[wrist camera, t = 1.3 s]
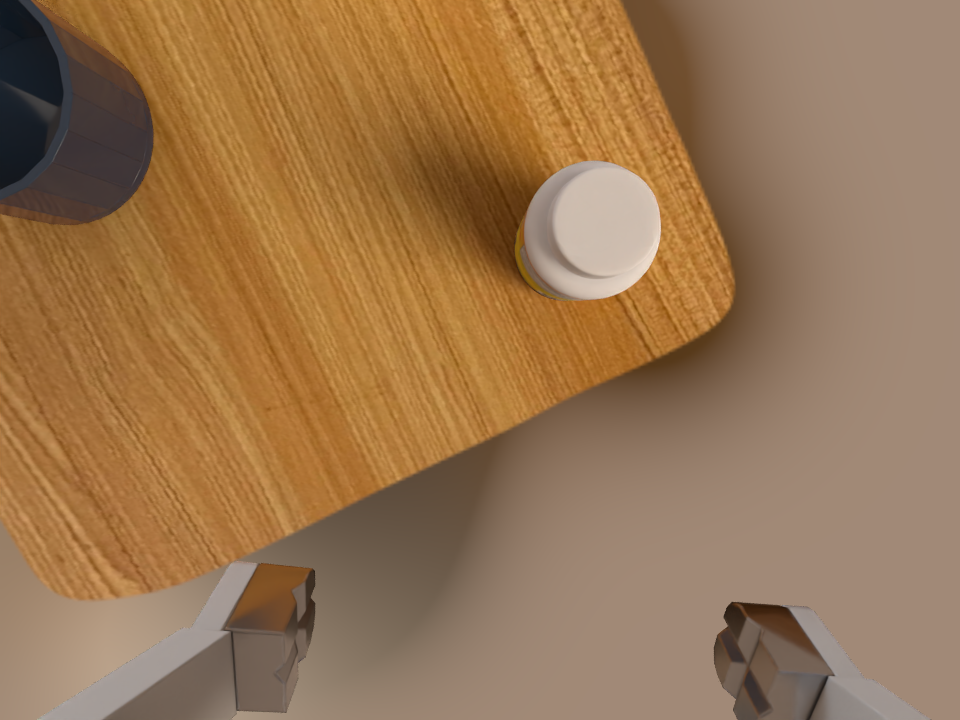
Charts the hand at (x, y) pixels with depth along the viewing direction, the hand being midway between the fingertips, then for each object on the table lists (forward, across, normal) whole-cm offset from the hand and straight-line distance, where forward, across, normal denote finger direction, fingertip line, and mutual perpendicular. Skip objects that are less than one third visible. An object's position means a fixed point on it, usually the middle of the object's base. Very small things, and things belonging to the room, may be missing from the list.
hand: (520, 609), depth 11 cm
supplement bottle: (+22, +3, +4) cm, 23 cm away
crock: (+23, -24, +7) cm, 34 cm away
